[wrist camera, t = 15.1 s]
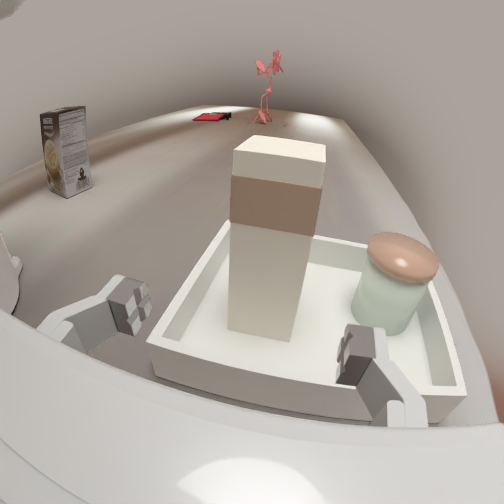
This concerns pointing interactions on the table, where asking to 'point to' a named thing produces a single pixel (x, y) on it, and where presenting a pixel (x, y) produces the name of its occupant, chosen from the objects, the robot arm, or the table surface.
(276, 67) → the figurine
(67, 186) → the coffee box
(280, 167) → the juice carton
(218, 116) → the red board with handle
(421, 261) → the lidded jar
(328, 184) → the table surface
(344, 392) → the tray
